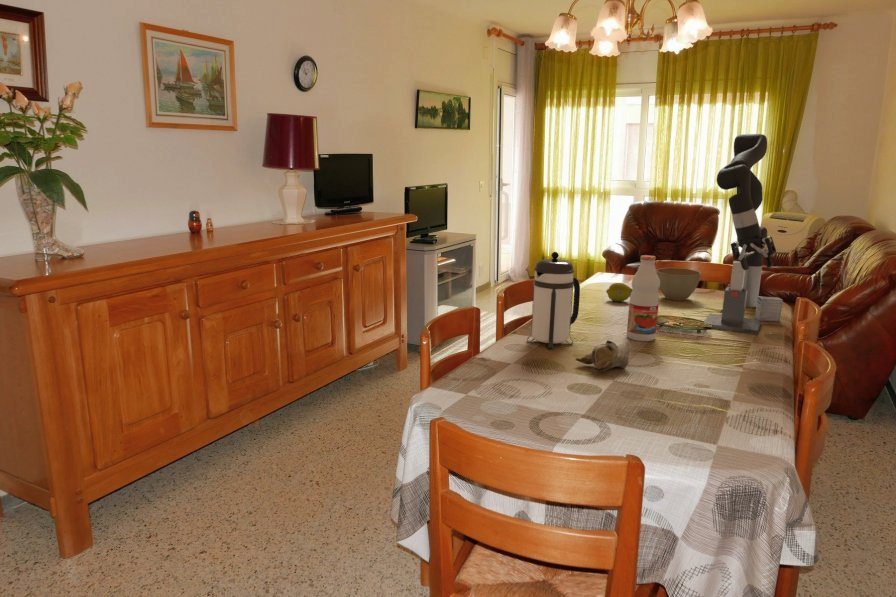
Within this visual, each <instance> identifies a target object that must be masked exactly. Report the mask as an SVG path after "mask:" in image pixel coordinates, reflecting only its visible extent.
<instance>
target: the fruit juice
mask: <svg viewBox="0 0 896 597" xmlns="http://www.w3.org/2000/svg"><path fill="white" fill-rule="evenodd" d="M639 259H640V261H639V262H640V264H639V267H638V268H637V271H636V273H635V274H634V275H633V277H632V280H631V289H632V293H631V295H630V297H629V302H628V304H629V306H628V314H627V325H626V326H627V327H626V336H627V339H630V340H633V341H638V342H652V341H654V340H655V338H656V335H657V327H658V326H657V325H658V324H657V323H658V315H659V305H660V296H659V290H660V279H659V277H658V275H657V269H656V266H655V263H656V260H657V257H656V256H655V255H649V254H644V255H640V258H639Z"/></svg>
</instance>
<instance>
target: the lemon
mask: <svg viewBox="0 0 896 597" xmlns="http://www.w3.org/2000/svg"><path fill="white" fill-rule="evenodd" d="M605 291H606V292H605V293H607V294H606V295H607V297H608V298H609V300H611V301H613V302H618V303H620V302H623V301H626V300H628V299H630V295H631V293H632V287H630V286H629V285H627V284H626V283H621V282H615V283H614V282H613V283H612V284H610V285H609V288H607V289H606V290H605Z"/></svg>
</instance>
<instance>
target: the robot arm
mask: <svg viewBox="0 0 896 597" xmlns="http://www.w3.org/2000/svg"><path fill="white" fill-rule="evenodd" d="M767 150H768V138H767V136H766V135H765V134H763V133H746V134H738V135H737V136H736V137H735V138H734V142H733V158H732V159H731V161H730V163H728V164H727V165H725V166H724V167H722V168H721V169H720V170H719V171H718V173H717V176H716V183H717V186H718V188H720V189H722V190H725V191H726V190H732V189H736V193H735V194H733V195H732V196H730V197H729V198H728V205H729V208H730V212H731V217H732V223H733V226H734V230H735V234H736V241H733V242H731V243H730V248H731V253H732V257H733V260H737V261H740V262H741V266H742V268H743V269H744V270H745V276H744V284H743V289H748V291H747V299H746V307H745V308H756V305H757V298H758V297H759V294H760V285H761V277H762V270H763V262H764V260H765V265H766V267H767V268H768V269H769V268H771V267H773V265H774V261H773V257H772V256H773V255H774V254H776V253H777V249H776V246H775V242H774V240H773V237H772V236H771V235H769V236H768V229H767V228H766V227H765V226H760V224H759V218H758V216H757V213H756V211H757V210H758V209H759V207H760V206H761V205H762V202H763V185H762V183H761V181H760V179H759V178H758V177H757V176H756V175H755V173H754V172H753V171H752V168H753V166H754V165H755V164H757V163H758V162H760V161H761V160H762V159H763V158H764V157H765V156H766V153H767ZM739 247H740V248H741V250H740V248H739Z"/></svg>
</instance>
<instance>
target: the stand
mask: <svg viewBox="0 0 896 597" xmlns="http://www.w3.org/2000/svg"><path fill="white" fill-rule="evenodd" d="M747 291H748V289H743V292H742V291H733V290H730V286H727V287H726V288H725V289H724V293H723V301H722V302H723V303H722V309H721V310H722V311H721V314H718V313H709V314H708V315H707V317H706V318H705V319H704V321H703V322H704V323H707V324H710V325H712V328H711V329H714V330H719V331H727V332H735V333H743V334H749V335H758V332H759V330H760V327H761V324H762V321H761V320H758V319H756V318H749V317H745V315H746V314H745V313H746V308H747V307H746V299H747Z"/></svg>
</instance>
